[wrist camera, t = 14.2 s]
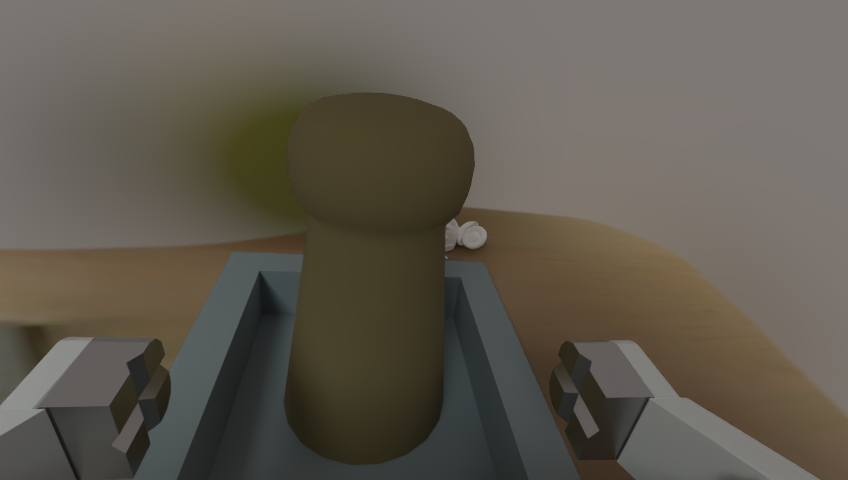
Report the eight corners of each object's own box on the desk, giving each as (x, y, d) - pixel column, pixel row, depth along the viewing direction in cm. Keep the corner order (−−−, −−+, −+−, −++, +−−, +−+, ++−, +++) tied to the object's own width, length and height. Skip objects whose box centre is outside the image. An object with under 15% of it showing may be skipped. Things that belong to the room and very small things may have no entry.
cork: (394, 323, 20) (420, 79, 15) (474, 418, 16) (549, 125, 11) (263, 366, 17) (238, 75, 12) (320, 499, 13) (321, 138, 8)
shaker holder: (-5, 880, 7) (-84, 845, 6) (238, 303, 21) (232, 251, 20) (634, 775, 9) (692, 729, 8) (473, 308, 23) (483, 261, 22)
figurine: (347, 222, 32) (447, 211, 34) (371, 277, 25) (492, 260, 28) (345, 183, 30) (450, 175, 33) (371, 232, 24) (498, 217, 26)
